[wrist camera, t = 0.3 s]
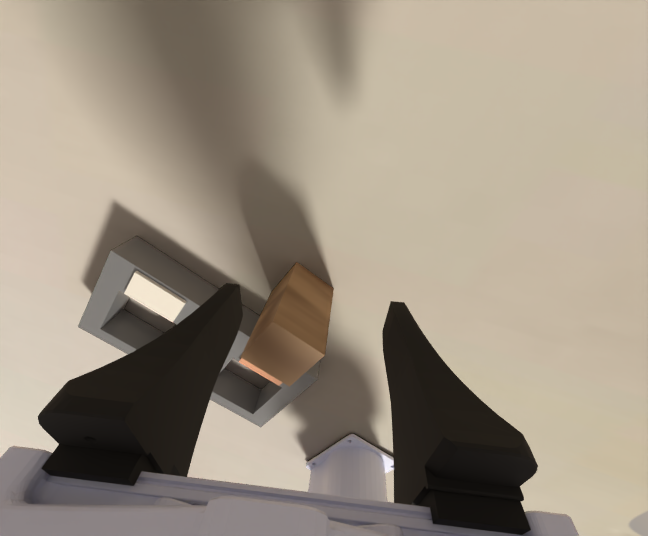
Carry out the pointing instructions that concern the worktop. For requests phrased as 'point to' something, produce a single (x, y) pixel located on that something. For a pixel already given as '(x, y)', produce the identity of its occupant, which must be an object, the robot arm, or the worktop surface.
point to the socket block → (175, 305)
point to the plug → (291, 326)
